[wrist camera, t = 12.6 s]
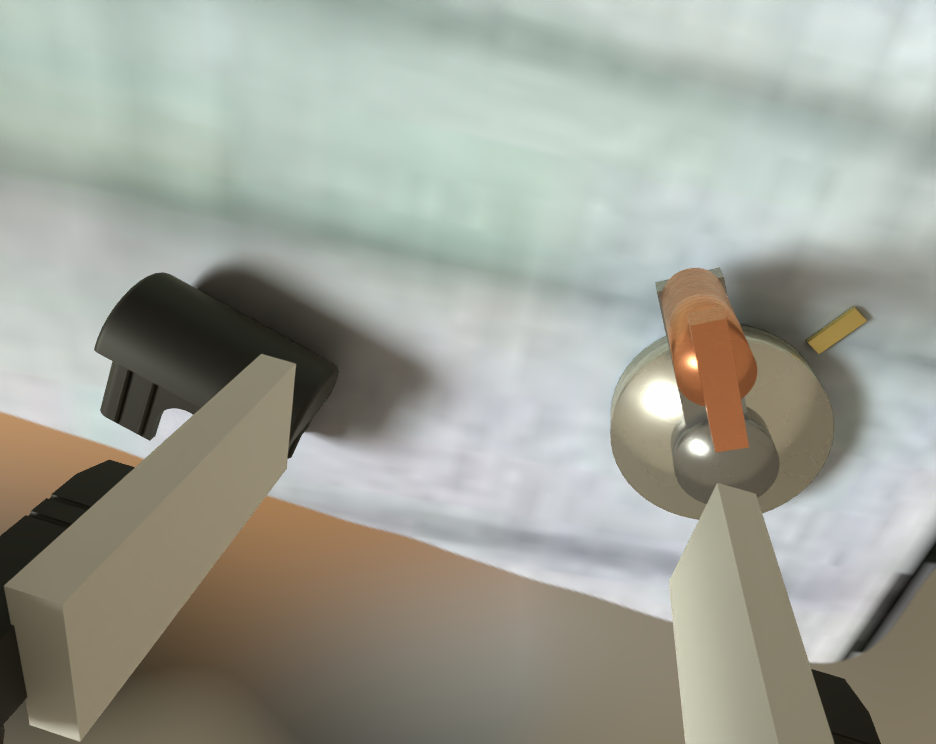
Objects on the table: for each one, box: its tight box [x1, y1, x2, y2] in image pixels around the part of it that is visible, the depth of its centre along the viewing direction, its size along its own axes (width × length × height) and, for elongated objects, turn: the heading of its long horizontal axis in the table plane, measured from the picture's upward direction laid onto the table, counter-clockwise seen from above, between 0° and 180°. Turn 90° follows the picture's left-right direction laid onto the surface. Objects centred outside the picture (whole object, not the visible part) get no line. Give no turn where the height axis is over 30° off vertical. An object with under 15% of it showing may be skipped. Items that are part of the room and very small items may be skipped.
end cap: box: [94, 273, 338, 459], centre depth 34 cm, size 10×7×7 cm
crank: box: [655, 268, 780, 504], centre depth 25 cm, size 12×4×10 cm, turn 18°
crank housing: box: [610, 307, 867, 519], centre depth 32 cm, size 10×12×2 cm
